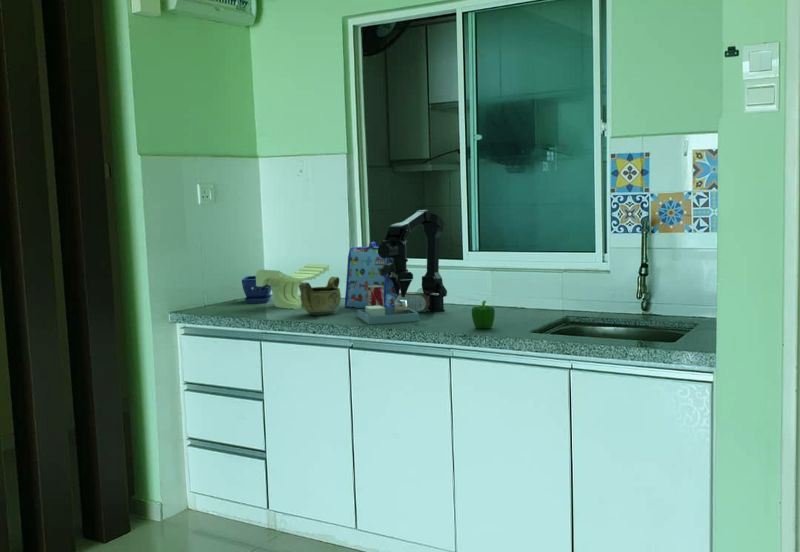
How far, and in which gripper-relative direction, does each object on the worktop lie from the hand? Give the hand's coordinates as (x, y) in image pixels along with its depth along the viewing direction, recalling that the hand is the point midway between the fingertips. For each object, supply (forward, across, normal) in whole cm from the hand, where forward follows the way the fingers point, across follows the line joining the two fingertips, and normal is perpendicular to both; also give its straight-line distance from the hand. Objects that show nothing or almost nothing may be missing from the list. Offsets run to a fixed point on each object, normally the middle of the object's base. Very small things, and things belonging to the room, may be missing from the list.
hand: (400, 295), depth 328 cm
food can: (+9, 0, 0) cm, 9 cm away
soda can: (+10, -16, -6) cm, 20 cm away
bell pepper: (+10, +33, +23) cm, 41 cm away
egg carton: (+9, 0, -10) cm, 14 cm away
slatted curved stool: (+10, -58, -34) cm, 68 cm away
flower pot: (+10, -80, -48) cm, 94 cm away
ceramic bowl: (+10, -26, -27) cm, 39 cm away
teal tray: (+10, 0, -5) cm, 11 cm away
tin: (+10, -17, +10) cm, 22 cm away
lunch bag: (+10, -39, -2) cm, 40 cm away
